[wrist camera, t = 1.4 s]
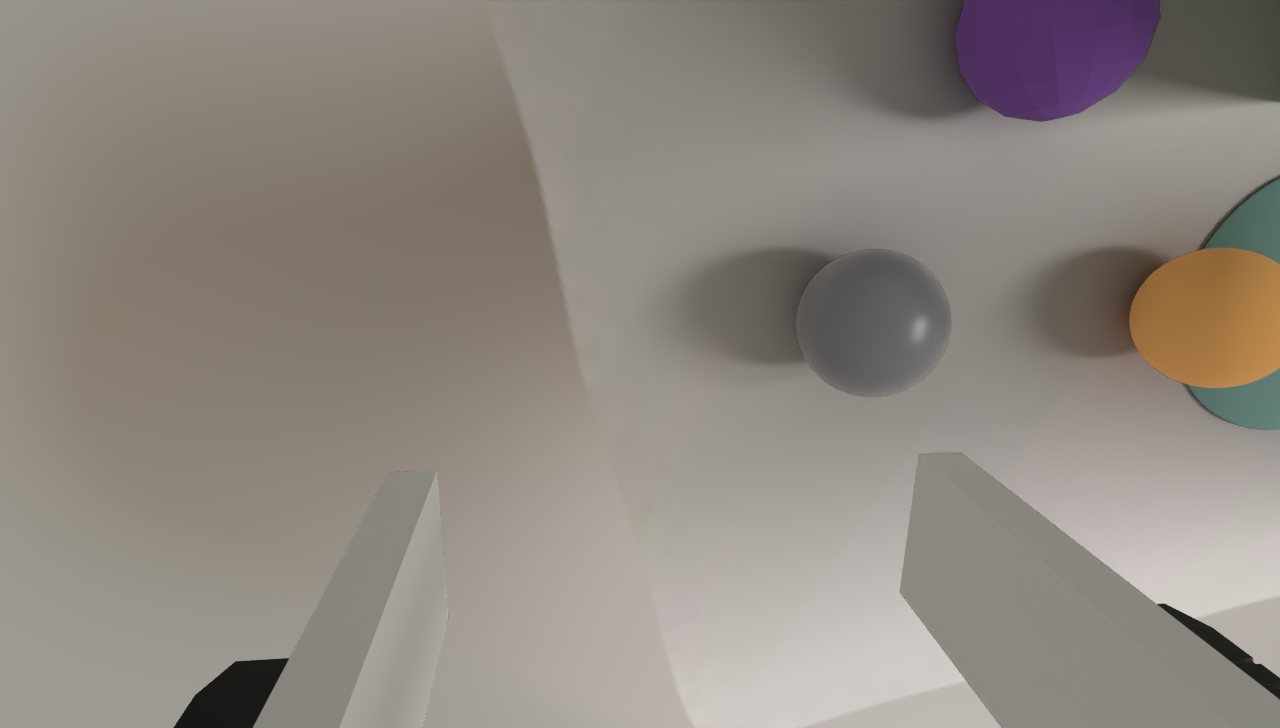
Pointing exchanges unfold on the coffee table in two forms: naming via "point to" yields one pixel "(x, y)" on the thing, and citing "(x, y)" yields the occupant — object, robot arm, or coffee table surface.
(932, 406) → the coffee table surface
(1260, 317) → the orange ball
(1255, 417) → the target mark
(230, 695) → the robot arm
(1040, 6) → the kendama
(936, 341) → the gray ball
